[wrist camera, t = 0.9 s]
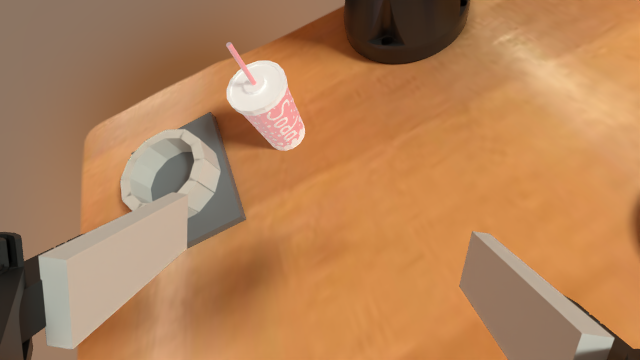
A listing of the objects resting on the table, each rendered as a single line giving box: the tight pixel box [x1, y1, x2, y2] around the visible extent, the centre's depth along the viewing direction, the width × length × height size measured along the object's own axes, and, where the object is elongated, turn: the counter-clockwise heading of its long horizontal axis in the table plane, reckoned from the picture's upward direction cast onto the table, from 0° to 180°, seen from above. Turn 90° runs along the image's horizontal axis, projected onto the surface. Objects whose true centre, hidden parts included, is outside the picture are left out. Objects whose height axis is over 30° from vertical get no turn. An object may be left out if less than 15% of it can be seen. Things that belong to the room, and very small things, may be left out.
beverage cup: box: [226, 42, 305, 151], centre depth 32 cm, size 6×6×14 cm
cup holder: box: [120, 112, 246, 248], centre depth 37 cm, size 12×16×4 cm
